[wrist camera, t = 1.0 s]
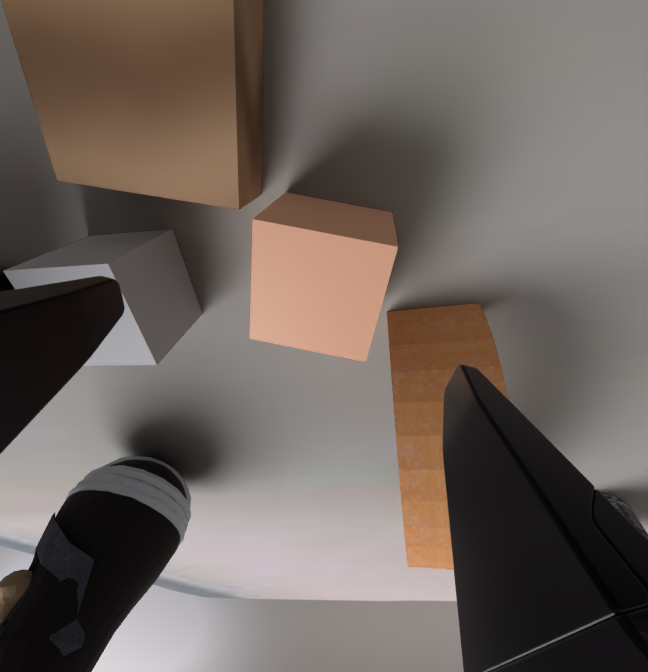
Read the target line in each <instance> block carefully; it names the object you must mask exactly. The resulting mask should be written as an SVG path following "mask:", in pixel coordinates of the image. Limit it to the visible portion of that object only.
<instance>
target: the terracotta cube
mask: <svg viewBox="0 0 648 672" xmlns="http://www.w3.org/2000/svg"><path fill="white" fill-rule="evenodd" d="M397 250H398V242H397V237H396V231H395V225H394V219H393V214H392V212H388V211H382V210H377V209H372V208H366V207H361V206H356V205H350V204H345V203H340V202H335V201H329V200H324V199H319V198H313V197H308V196H303V195H297V194H292V193H287V192H286V193H284V194H283V195H282V196H281V197H279V198H278V199H277V200H276V201H274V202H273V203H272V204H271V205H270V206H268V207H267V208H266V209H265V210H263V211H262V212H261V213H260V214H258V215H257V216H256V217H255V218H253V228H252V267H251V306H250V339H254V340H259V341H264V342H269V343H274V344H278V345H283V346H288V347H293V348H298V349H303V350H308V351H313V352H318V353H323V354H328V355H333V356H338V357H343V358H348V359H353V360H358V361H363V362H366V359H367V355H368V352H369V348H370V345H371V341H372V338H373V334H374V331H375V327H376V324H377V320H378V317H379V313H380V310H381V306H382V303H383V299H384V296H385V292H386V289H387V285H388V282H389V278H390V274H391V271H392V267H393V264H394V260H395V257H396V253H397Z"/></svg>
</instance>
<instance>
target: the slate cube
mask: <svg viewBox="0 0 648 672" xmlns="http://www.w3.org/2000/svg"><path fill="white" fill-rule="evenodd" d="M3 272H4V273H5V275H6V276H7V278H8V279H9V281H10V282H11V284H12V285H13V287H14V288H15V289H21V288H27V287H34V286H40V285H46V284H52V283H58V282H64V281H70V280H77V279H83V278H89V277H95V276H104V277H108V278H112V279H115V280H117V281H118V283H119V285H120V288H121V293H122V297H123V301H124V306H125V310H124V313H123V315H122V317H121V318H120V319H119V321H118V322H117V323H116V325H115V326H114V327H113V329H112V330H111V331H110V333H109V334H108V335H107V337H106V338H105V339H104V340H103V342H102V343H101V344H100V346H99V347H98V348H97V350H96V351H95V352H94V354H93V355H92V356H91V357H90V358H89V360H88V361H87V362H86V363H85V364H84V365H83V366H90V365H157V364H158V363H159V362H160V361H161V360H162V359H163V358H164V356H165V355H166V354H167V353H168V352H169V351H170V350H171V349H172V347H173V346H174V345H175V344H176V343H177V342H178V341H179V340H180V338H181V337H182V336H183V335H184V334H185V333H186V332H187V331H188V329H189V328H190V327H191V326H192V325H193V324H194V323H195V322H196V320H197V319H198V318H199V317H200V316H201V315H202V311H201V308H200V305H199V302H198V300H197V297H196V294H195V291H194V288H193V286H192V283H191V280H190V277H189V274H188V271H187V269H186V266H185V263H184V260H183V257H182V254H181V252H180V249H179V246H178V243H177V240H176V237H175V235H174V232H173V229H165V230H153V231H142V232H130V233H118V234H107V235H95V236H87V237H85V238H83V239H80V240H78V241H75V242H73V243H70V244H68V245H65V246H63V247H60V248H58V249H55V250H53V251H51V252H48V253H46V254H43V255H41V256H38V257H36V258H33V259H31V260H28V261H26V262H23V263H21V264H18V265H16V266H14V267H11V268H9V269H6V270H4V271H3Z"/></svg>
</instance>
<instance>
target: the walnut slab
mask: <svg viewBox="0 0 648 672" xmlns="http://www.w3.org/2000/svg"><path fill="white" fill-rule="evenodd" d="M1 2H2V5H3V8H4V11H5V15H6V18H7V21H8V24H9V27H10V31H11V34H12V37H13V40H14V43H15V47H16V50H17V53H18V56H19V60H20V63H21V66H22V69H23V72H24V76H25V79H26V82H27V85H28V88H29V92H30V95H31V98H32V101H33V104H34V108H35V111H36V114H37V117H38V121H39V124H40V127H41V130H42V133H43V137H44V140H45V143H46V146H47V149H48V153H49V156H50V159H51V162H52V165H53V169H54V172H55V175H56V178H57V181H63V182H69V183H75V184H82V185H88V186H94V187H100V188H107V189H113V190H119V191H125V192H132V193H138V194H144V195H150V196H157V197H163V198H169V199H175V200H182V201H188V202H194V203H200V204H207V205H213V206H219V207H225V208H232V209H238V210H239V209H241V208H242V207H244V206H245V205H247V204H248V203H250V202H251V201H253V200H254V199H256V198H257V197H259V196H260V195H261V193H262V109H263V24H264V0H1Z"/></svg>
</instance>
